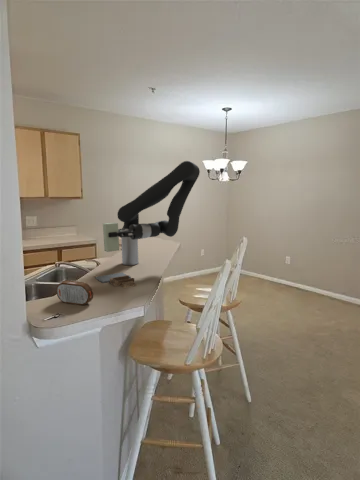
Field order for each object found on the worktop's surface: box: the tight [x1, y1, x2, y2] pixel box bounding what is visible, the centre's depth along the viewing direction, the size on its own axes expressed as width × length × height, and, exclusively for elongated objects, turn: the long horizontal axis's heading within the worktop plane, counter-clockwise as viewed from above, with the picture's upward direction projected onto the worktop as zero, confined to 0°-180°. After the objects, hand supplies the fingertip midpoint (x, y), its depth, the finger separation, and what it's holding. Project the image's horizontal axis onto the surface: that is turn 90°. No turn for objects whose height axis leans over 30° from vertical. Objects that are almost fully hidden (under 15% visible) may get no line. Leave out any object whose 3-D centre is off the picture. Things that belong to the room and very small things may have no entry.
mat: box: [95, 272, 132, 284], centre depth 152 cm, size 10×14×1 cm
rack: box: [109, 274, 135, 287], centre depth 145 cm, size 7×9×2 cm
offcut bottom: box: [120, 283, 137, 289], centre depth 140 cm, size 4×6×1 cm, turn 124°
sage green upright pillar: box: [102, 222, 120, 253], centre depth 149 cm, size 4×6×13 cm, turn 124°
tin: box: [55, 279, 94, 306], centre depth 119 cm, size 15×3×8 cm, turn 71°
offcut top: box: [121, 281, 136, 288], centre depth 140 cm, size 3×5×1 cm, turn 126°
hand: (107, 234), depth 148 cm, fingers closed on sage green upright pillar, 3 cm apart
